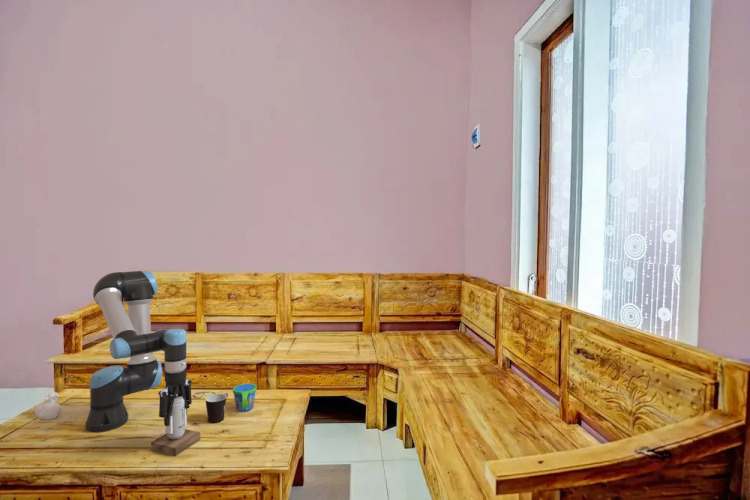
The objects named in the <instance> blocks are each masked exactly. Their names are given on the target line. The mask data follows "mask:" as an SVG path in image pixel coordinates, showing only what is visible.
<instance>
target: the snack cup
mask: <svg viewBox="0 0 750 500" xmlns="http://www.w3.org/2000/svg"><path fill="white" fill-rule="evenodd" d="M256 391H257V385H256V384H254V383H241V384H239V385H236V386H234V387H233V388H232V394H233V397H234V401H235V402H234V403H235V408H236V411H237V412H242V413H243V412H244V413H245V412H249V411H251V410H253V408H254V406H255V405H254V403H255V399H256Z"/></svg>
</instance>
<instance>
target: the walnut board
mask: <svg viewBox="0 0 750 500" xmlns="http://www.w3.org/2000/svg"><path fill="white" fill-rule="evenodd" d="M199 441H201V431H200V432H199V431H196V430H192V429H191V430H190V429H186V428H185V433H184V434H183V436H182V437H180V438H178V439H169V437H168V436H167V433H165V434H163V435H161V436H160V437H157V438H156V439H154V440H152V441H151V442H150V450H151V451H153V452H158V453H162V454H166V455H170V456H174V457H176V456H178V455H180V454H181V453H183V452H185V451H186V450H188V449H189V448H191V447H192V446H194V445H195V444H197V443H199Z"/></svg>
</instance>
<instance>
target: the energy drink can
mask: <svg viewBox="0 0 750 500" xmlns="http://www.w3.org/2000/svg"><path fill="white" fill-rule="evenodd" d="M171 416H172V425H173V433H172V434H168V433H167V436H168V437H169V439H178V438H180V437H182V436H183V434H184V433H185V429H186V428H185V426H186V425H185V411H184V399H183V396H178V394H177V395H176V398H175V399H174V402H173V407H172V411H171Z"/></svg>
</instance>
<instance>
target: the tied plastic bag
mask: <svg viewBox="0 0 750 500" xmlns="http://www.w3.org/2000/svg"><path fill="white" fill-rule="evenodd" d="M59 396H60V395H59V392H57V391H53V392H49V393H48V394H45V396H44V398H43V400H44V401H45V402H42V403H39V404H37V405H36V406H35V409H34V415H35V417H36V418H38V419H39V420H52V419H56V418H58V415H59V414H60V412H61V411H62V409H63V407H62V406H61V404H59V403H57V402H56V400H58V399H59Z"/></svg>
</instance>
